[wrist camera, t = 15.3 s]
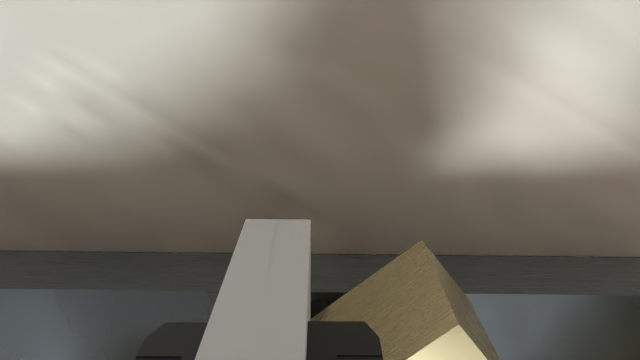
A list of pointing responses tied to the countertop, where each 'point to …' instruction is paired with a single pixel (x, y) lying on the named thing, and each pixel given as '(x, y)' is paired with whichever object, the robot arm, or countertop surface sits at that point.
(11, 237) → the countertop surface
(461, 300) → the knob
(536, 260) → the tribrach plate
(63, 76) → the countertop surface
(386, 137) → the countertop surface
